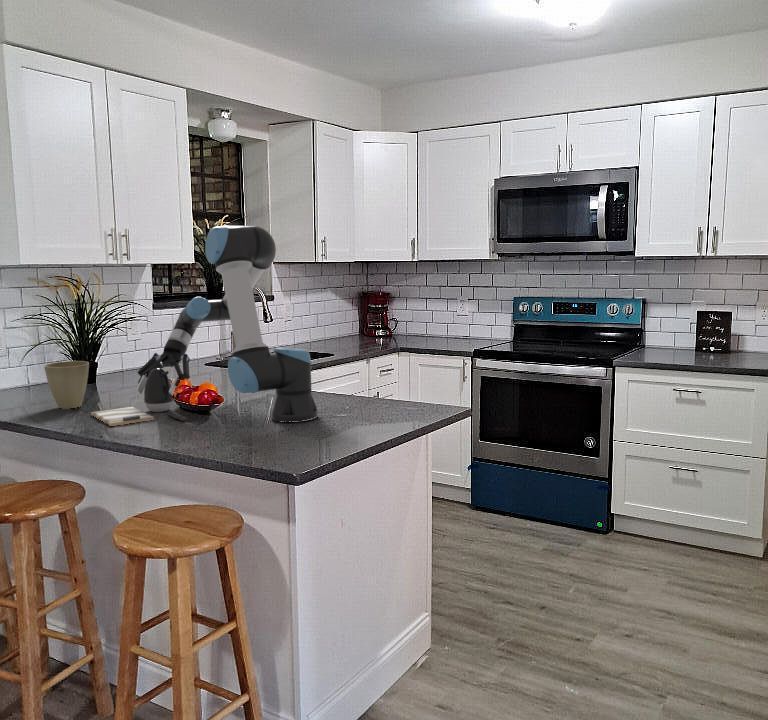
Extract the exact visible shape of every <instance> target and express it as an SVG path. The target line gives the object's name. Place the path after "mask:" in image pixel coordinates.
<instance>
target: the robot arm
mask: <svg viewBox="0 0 768 720" xmlns="http://www.w3.org/2000/svg"><path fill="white" fill-rule="evenodd" d="M208 231H209V232H208V234H207V235H206V239H205V245H204V246H205V247H204V248H205V249H204V250H205V251H204V252H205V257H206V260H207V262H208V263H209V264H213V265H214V266H215V271H216V272H217V273H219V274H220V275H221V278H222V283H223V287H224V296H223V298H222V299H219V300H218V299H216V300H208V299H206V298H205V297H202V296H196V297H193V298H192V299H191V300H190V301H188V303H187V305H186V307H183V309H182V310H181V311H180V313H179V315H178V318H177V320H176V322H175V324H174V327H173V328H172V330H171V332H170V335H169V337H168V338H167V340H166V343H165V344H164V348H163V352H162V354H158V353H157V352H155V353H154V354H153V355H152V356H151V358H150V359H149V360H148V361H147V362H146V363H145V364H144V365H143V366H141V368H140V369H138V371H137V374H138V375H139V376H140V378H139V380H137V381H138V382H137V384H138V385H137V387H136V388H135V391H136V392H137V394H138V395H140V396H141V395H142V394H143V393H144V389H145V384H146V380H147V377H148V375H149V373H150V371H151V370H152V369H154V368H161V369H164V368H169V367H170V368H173V367H174V369H175V372H176V374H177V376H175V377H174V379H173V382H172V383H171V388H170V390H169V393H170V394H171V395H172V396H173V394H174V391H175V388H176V386H178V385H179V383H180V380H183V381H185V380H190V377H191V375H190V365H189V364H190V363H189V362H190V360H191V358H190V356H189V355H188V354H187V353H186V352H187V350H188V348H189V346H190V343H191V341H192V339H193V337H194V335H195V332H196V330H197V329H198V327H199V326H201V324H202V323H207V322H218V321H230V324H231V330H232V334H233V340H234V345H235V347H234V350H232V353H231V358H229V360H228V362H227V375H228V378H229V382H230V383H231V385H232V387H233V388H234V389H235V390H236V391H237V392H238V393H241V394H256V393H259V392H267V391H272V390H273V391H274V390H275V398H274V402H273V406H272V409H271V412H270V413H271V414H270V415H271V417H270V418H271V420H272V419H273V420H275V421H274V422H276V421H284V422H285V421H286V422H289V421H291V422H292V421H302V420H307V419H311V418H314V417H316V416H317V415H319V413H318V412H319V411H318V408H317V405H316V402H315V399H314V397H313V394H312V393H313V392H312V366H311V365H312V360H311V353H310V352H309V351H308V350H306V349H302V348H293V347H275V348H274V349H273V352H272V353H271V352H270V347H269V346H268V345H267V344H266V343H264V341H263V337H262V332H261V331H262V330H261V326H260V321H259V318H258V317H259V316H258V312H257V306H256V302H255V295H254V288H255V286H256V284H257V283H258V281H259V279H260V277H261V276H262V275H263V273H264V271H266V270H267V269H269V268H270V267H271V265H272V264H273V262H274V260H275V257H276V251H277V248H276V247H277V245H276V242H275V240H274V238H273V235H271V233H270V232H269V231H267V230H266V229H264V228H263V227H260V226H256V225H227V224H226V225H221V226H218V225H217V226H213V227H212V228H211V229H210V230H208ZM181 361H182V369H181V366H180V362H181ZM178 379H179V380H178ZM273 420H272V421H273Z"/></svg>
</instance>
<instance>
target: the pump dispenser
mask: <svg viewBox="0 0 768 720" xmlns="http://www.w3.org/2000/svg"><path fill="white" fill-rule="evenodd" d="M169 374H170V373H169V371H168V370H166V371H165V370H164V368H154V369H152V370H151V371H150V373H149V375H148V377H147V380H146V384H145V388H144V390H143V403H144V405H145V407H146V408H147V410H149V411H150V412H152V413H165V412H167V411H170V410H171V408H172V406H173V404H174V401H175V399H174V400H173V399H172V397H171V394H170V393H169V390H170V388H171V386H172V383H171V380H170V378H169V376H168V375H169ZM164 411H165V412H164Z"/></svg>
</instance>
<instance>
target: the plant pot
mask: <svg viewBox="0 0 768 720" xmlns="http://www.w3.org/2000/svg"><path fill="white" fill-rule="evenodd" d="M43 367H44V368H43V369H44V372H45V376H46V379H47V383H48V386H49V389H50V391H51V395H52V397H53V399H54V401H55V403H56V406H58V409H59V408H62V409H61V410H71V409H70V408H75V409H78V408H77V407H79V408H80V406H81V407H82V404H83V401H84V397H85V394H86V390H87V386H88V378H89V368H90V363H89V361H85V360H69V361H67V360H66V361H57V362H51V363H47V364H44V365H43Z"/></svg>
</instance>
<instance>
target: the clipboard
mask: <svg viewBox="0 0 768 720" xmlns="http://www.w3.org/2000/svg"><path fill="white" fill-rule="evenodd" d="M90 414H91V415H92V416H91V417H93V416H94V417H93V418H95V417H96V418H97V419H96V418H95V419H96V420H98V419H99V420H98V421H100V420H101V421H103V422H104V423H103V422H102V423H103V424H105V423H106V424H108V425H110V426H115V427H117V426H116V425H121V426H124V425H123V424H128V425H130V424H129V423H135V422H141V421H148V420H154V421H155V416H153V415H151V414H149V413H146V411H145V412H144V411H142V410H140V409H138V408H137V407H134V406H127V407H120V408H114V409H106V410H99V411H98V410H97V411H92V412H90ZM101 421H100V422H101ZM148 422H149V421H148ZM141 423H142V422H141ZM106 424H105V425H106ZM135 424H136V423H135ZM108 425H107V426H108ZM110 426H109V427H110Z"/></svg>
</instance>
